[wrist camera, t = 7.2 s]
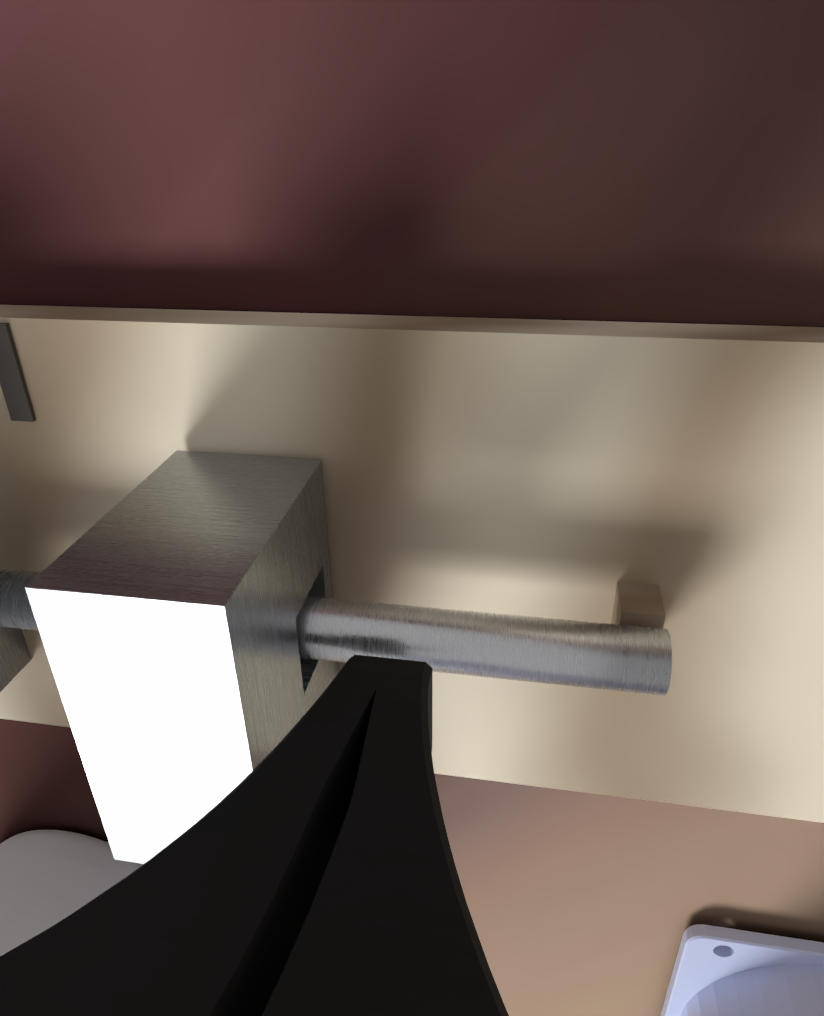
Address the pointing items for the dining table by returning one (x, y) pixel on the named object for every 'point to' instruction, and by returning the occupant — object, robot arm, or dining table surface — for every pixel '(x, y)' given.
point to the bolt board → (482, 522)
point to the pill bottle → (51, 880)
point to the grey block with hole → (187, 635)
